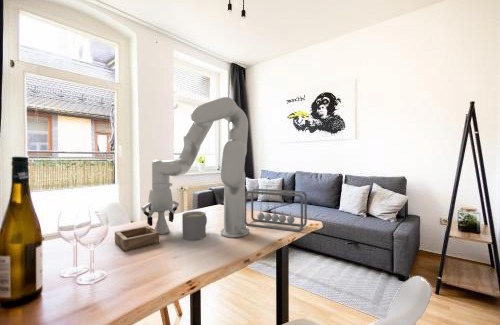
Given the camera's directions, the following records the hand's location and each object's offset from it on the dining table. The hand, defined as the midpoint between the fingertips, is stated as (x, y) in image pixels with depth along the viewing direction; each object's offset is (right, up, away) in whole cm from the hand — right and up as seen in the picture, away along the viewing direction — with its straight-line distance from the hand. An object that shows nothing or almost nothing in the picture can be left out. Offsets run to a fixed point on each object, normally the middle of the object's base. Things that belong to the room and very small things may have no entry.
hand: (160, 223), depth 112 cm
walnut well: (-5, -5, -14) cm, 15 cm away
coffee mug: (+18, -5, -4) cm, 19 cm away
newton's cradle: (+54, -4, +10) cm, 55 cm away
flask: (0, -5, 0) cm, 5 cm away
